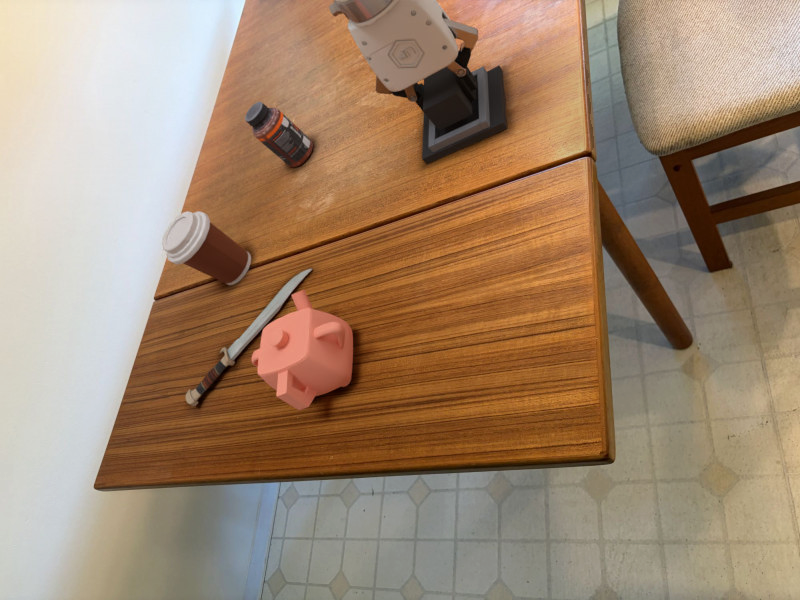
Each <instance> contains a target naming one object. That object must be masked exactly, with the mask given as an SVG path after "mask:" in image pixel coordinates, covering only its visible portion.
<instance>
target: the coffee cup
mask: <svg viewBox="0 0 800 600" xmlns="http://www.w3.org/2000/svg"><path fill="white" fill-rule="evenodd" d="M161 246H162V250H163V251H165V253H166V258H167V260H168V261H169V262H171V263H172V264H174V265H176V266H178V265H182V264H184V265H185V266H188V267H190V268H192V269H194V270H197V271H198V272H200V273H203V274H205V275H207V276H209V277H211V278H213V279H215V280H217V281H220V282H222V283H224V284H226V285H228V286H233V285H236V284H237V283H239V282H240V281H241V280H242V279H243V278H244V277H245V276H246V274H247V273H248V271H249V269H250V266H251V263H252V255H251V253H250V252H249V251H248V250H247V249H245V248H244V247H242V246H241V245H240V244H238V243H237V242H236V241H235V240H233V239H232V238H231V237H230V236H228V234H226V233H225V232H223V231H222V230H220V228H218V227H217V226H216V225H215V224H213V223H212V222H211V219H210V217H209V215H208V214H207V213H205V212H202V211H200V210H199V211H196V212H192V211H187V210H186V211H184V212H181V213H179V215H176V216H175V218H174V219H173V220H172V221H171V222H170V224H169V226H167V228H166V229H165V232H164V234H163V237H162V240H161Z"/></svg>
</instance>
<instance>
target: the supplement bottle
mask: <svg viewBox="0 0 800 600" xmlns="http://www.w3.org/2000/svg"><path fill="white" fill-rule="evenodd" d="M244 120H245V122H246V123H247V124H248V125H249V126H250V127H252V135H253V136H254V138H256V139H257V140H258V141H259V142H260V143H262V145H264V146H265V147H266V149H269V150H270V151H271V153H273V154H274V155H276V156H277V158H279V159H280V160H281V161H282V162H284V163H285V164H286V165H287V166H289V167H291V168H297V167H299V166H301V165H303V164H304V163H305V162H306V161H307V160H308V159H309V157H310V155H311V154H312V153H313V149H314V142H313V141H312V140H311V139H310V138H309V136H307V134H305V132H304V131H302V129H300V128H299V127H298V126H297V125H296V124H295V123H294V122H292V121H291V120H290V119H289V118H288V117H287V115H285V114H284V113H283V112H282V111H281V110H280V109H279V108H277V107H268V106H267V105H266V104H265V103H264V102H262V101H257V102H255V103H254V104H252V105H251V106H250V108H249V109H248V110H247V112H246V114H245V116H244Z"/></svg>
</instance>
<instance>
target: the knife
mask: <svg viewBox="0 0 800 600" xmlns="http://www.w3.org/2000/svg"><path fill="white" fill-rule="evenodd" d="M312 270H313V268H308V269H305V270H303V271H301V272H300V273H298V274H296V275H294V277H292V278H291V279H290V280H289V281H288V282H286V283H285V285H284V286H282V288H281V289H280V290H279V291H278V292H277V294H276V295H275V296H274V297H273V299H271V301H270V302H269V303H268V304H267V306H266V307H265V308H264V309H263V310H262V311H261V313H260V314H259V315H258V316H257V317H256V319H254V321H253V322H252V323H251V324H250V325H249V326H248V327H247V329H246V330H245V331H244V332H243V333H242V334H241V335H240V337H239V338H237V339H236V340H234V342H233V343H232V344H231V345H230V346H229V347H228V348H227V347H225V346H224V347H222V348H221V350H219V354H222V353H224V356H223V357H222V358H221V359H220V360H219V361H218V362H217V363H216V364H215V365H214V366H213V367H212V368H211V369H210V370H209V371H208V373H207V374H206V375H205V376H204V378H202V380H201V381H200V382H199V384H198V385H197V386H196V388H194V389H191V388H189V389H188V390H187V392H186V393H185V401H186V403H187V404H188V405H190V406H192V407H196V406H197V405H198V404H199V399H200V398H201V397H202V396H203V395H204V394H205V393H206V392H207V390H209V388H211V386H212V385H213V384H214V383H215V382H216V381H217V379H218V378H219V377H220V376H221V374H222V373H223V372H224V371H225V369H226V368H227V367H228V366H231V367H233V366H234V365H235V363H236V358H237V357H238V356H239V355H240V354H241V353H242V351H243V350H244V349H245V348H246V347H247V346H248V345H249V343H251V342H252V341H253V339H254V338H255V337H256V336H257V335H258V334H259V333H260V332H261V330H263V329H264V328H265V327H266V326H267V325H268V324H269V323H270V321H271V320H272V319H273V317H275V315H276V314H277V313H278V312H279V311H280V310H281V308H282V307H283V306H284V304H285V302H286V301H287V299H288V298H289V296H290V295H292V293H293V291H294V290H295V289H296V288H297V287H298V285H300V284H301V282H302V281H303V280H304V279H305V278H306V276H308V274H309V273H310V272H311V271H312Z"/></svg>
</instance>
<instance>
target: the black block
mask: <svg viewBox="0 0 800 600" xmlns="http://www.w3.org/2000/svg"><path fill="white" fill-rule="evenodd" d="M423 85H424V94H423V111H422V112H423V114H424V113H425V114H426V115H427V116H428V118H429V119H430V120H431V121H432V123H433V124H434V125H435V126H436V128H437V129H438V130H439V131H440V130H442V129H444V128H446V127H448V126H450V125H452V124H454V123H456V122H458V121H461V120H463V119H465V118H467V117H469V116H471V115H472V101H470V100H469V99H468V97H467V96H466V94H465V93H464V92H463V90H462V89H461V87H460V86H459V84H458V83H457V81H456V74H455V73H453V72H452V71H451V70H450V69H448V68H447V67H445V68H443V69H441V70H439V71H438V72H436V73H434V74H432V75H430V76H428V77H427V78H425V79H423Z"/></svg>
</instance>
